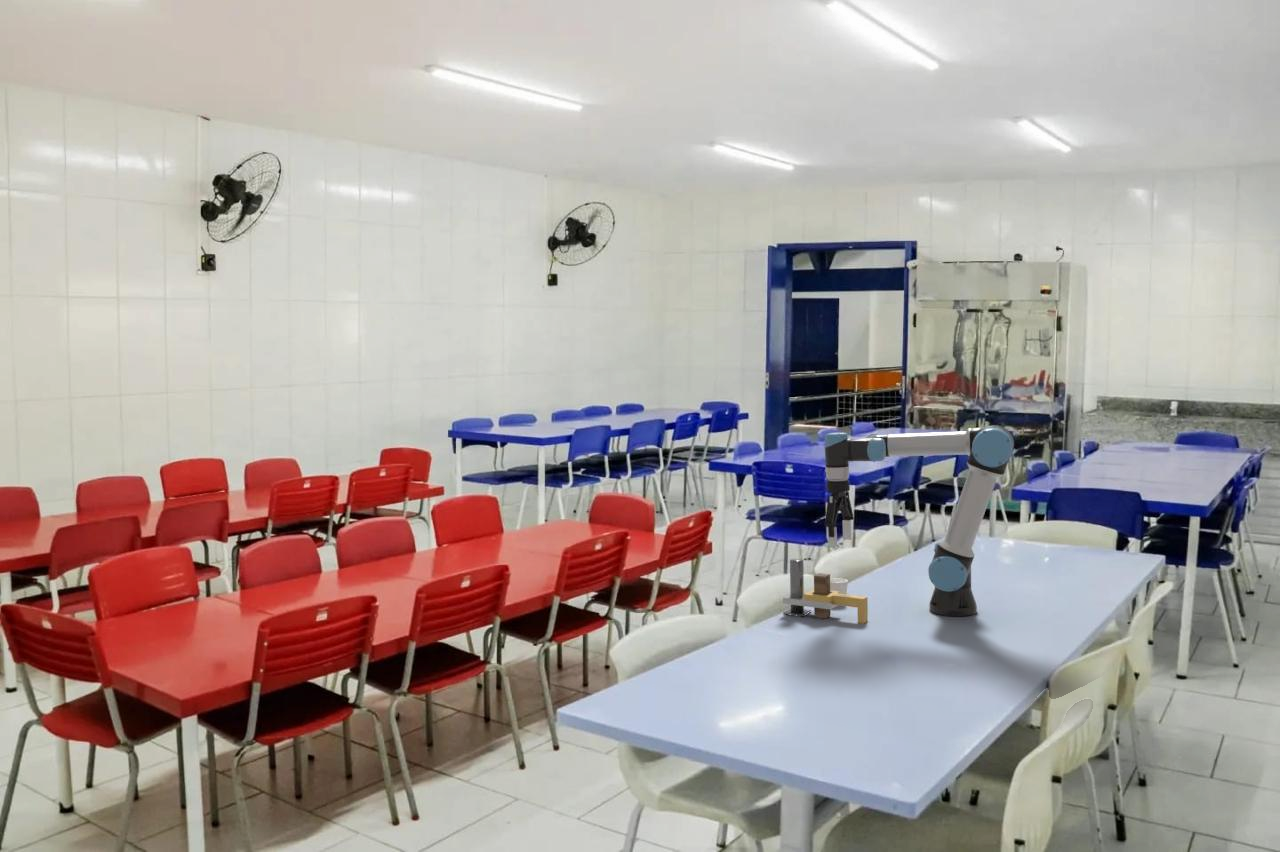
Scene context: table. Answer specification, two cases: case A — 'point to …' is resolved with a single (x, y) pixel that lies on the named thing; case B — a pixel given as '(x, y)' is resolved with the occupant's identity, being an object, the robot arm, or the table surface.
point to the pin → (822, 592)
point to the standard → (800, 592)
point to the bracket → (842, 602)
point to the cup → (839, 585)
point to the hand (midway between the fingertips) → (840, 543)
